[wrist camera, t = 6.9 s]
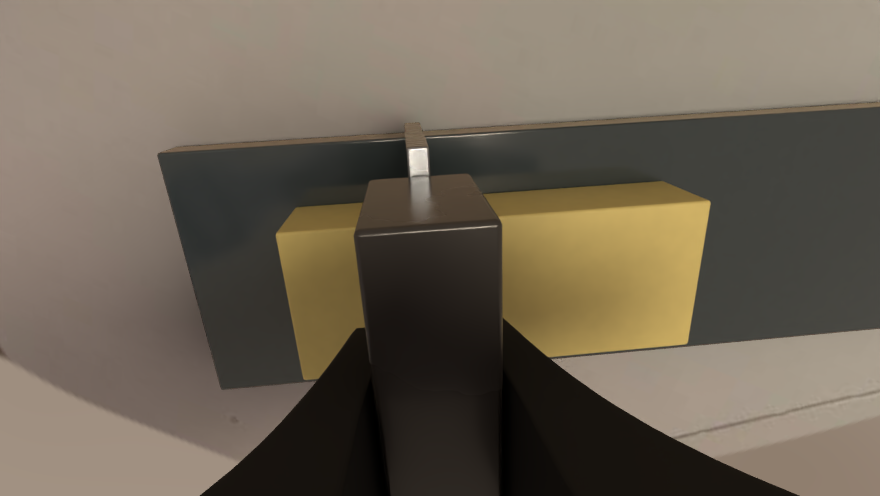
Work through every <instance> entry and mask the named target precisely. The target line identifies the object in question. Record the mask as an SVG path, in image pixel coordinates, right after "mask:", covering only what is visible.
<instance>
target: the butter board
mask: <svg viewBox="0 0 880 496" xmlns="http://www.w3.org/2000/svg"><path fill="white" fill-rule="evenodd" d="M423 133H424V136H425V139H426V141H427V144H428V147H429V153H430V170H431V176H438V175H453V174H469V175H470V176H471V177H472V179H473V180H474V182H475V183H476V185H477V186H478V188H479V189H480V191H481V192H482V194H490V193H504V192H518V191H532V190H546V189H560V188H573V187H587V186H601V185H615V184H629V183H643V182H657V181H663V182H666V183H668V184H671V185H673V186H675V187H678V188H680V189H683V190H685V191H687V192H690V193H692V194H695V195H697V196H699V197H702V198H704V199H707V200H709V201H710V203H711V204H710V210H709V216H708V222H707V228H706V235H705V241H704V247H703V253H702V259H701V265H700V271H699V277H698V283H697V289H696V295H695V301H694V307H693V313H692V319H691V325H690V331H689V337H688V343H687V344H685V345H675V346H664V347H653V348H643V349H632V350H621V351H610V352H600V353H589V354H578V355H567V356H556V357H549V358H550V359H558V358H569V357H580V356H591V355H601V354H612V353H623V352H633V351H644V350H655V349H666V348H676V347H687V346H698V345H709V344H719V343H730V342H741V341H752V340H762V339H773V338H784V337H795V336H805V335H816V334H827V333H837V332H848V331H859V330H870V329H880V102H873V103H857V104H842V105H826V106H810V107H795V108H779V109H763V110H748V111H732V112H716V113H700V114H685V115H669V116H653V117H638V118H622V119H606V120H591V121H575V122H559V123H544V124H528V125H512V126H497V127H481V128H465V129H450V130H434V131H423ZM157 156H158V160H159V163H160V167H161V171H162V174H163V178H164V182H165V185H166V189H167V193H168V196H169V200H170V204H171V207H172V211H173V215H174V218H175V222H176V226H177V229H178V233H179V237H180V240H181V244H182V248H183V251H184V255H185V259H186V262H187V266H188V270H189V273H190V277H191V281H192V284H193V288H194V292H195V295H196V299H197V303H198V306H199V310H200V314H201V317H202V321H203V325H204V328H205V332H206V336H207V339H208V343H209V347H210V350H211V354H212V358H213V361H214V365H215V369H216V372H217V376H218V380H219V383H220V387H221V389H222V390H226V389H236V388H247V387H258V386H269V385H279V384H290V383H301V382H311V381H317V380H318V379H311V380H304V379H303V375H302V370H301V364H300V359H299V354H298V349H297V344H296V338H295V333H294V328H293V323H292V318H291V312H290V307H289V302H288V297H287V292H286V286H285V281H284V276H283V271H282V266H281V260H280V255H279V250H278V245H277V240H276V233H277V232H278V230H279V229H280V228H281V226H282V225H283V224H284V222H285V221H286V220H287V218H288V217H289V216H290V215H291V213H292V212H293V211H294V209H295V208H297V207H308V206H322V205H336V204H350V203H363V201H364V197H365V194H366V190H367V187H368V183H369V181H371V180H379V179H393V178H408V169H407V156H406V143H405V132H402V133H387V134H371V135H355V136H340V137H324V138H308V139H293V140H277V141H261V142H246V143H230V144H214V145H199V146H183V147H175V148H172V149H169V150H166V151H163V152H160V153H158V155H157Z"/></svg>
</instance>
